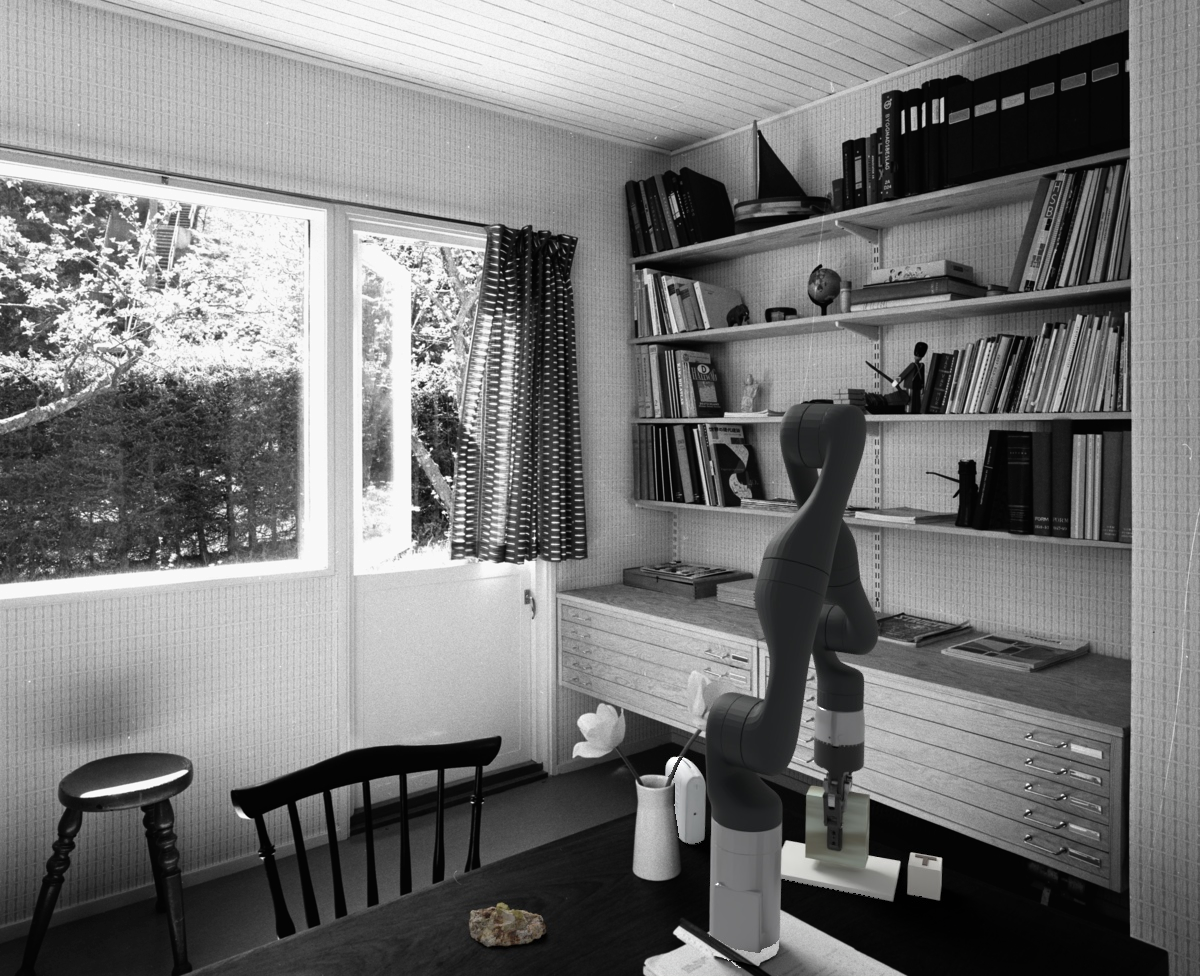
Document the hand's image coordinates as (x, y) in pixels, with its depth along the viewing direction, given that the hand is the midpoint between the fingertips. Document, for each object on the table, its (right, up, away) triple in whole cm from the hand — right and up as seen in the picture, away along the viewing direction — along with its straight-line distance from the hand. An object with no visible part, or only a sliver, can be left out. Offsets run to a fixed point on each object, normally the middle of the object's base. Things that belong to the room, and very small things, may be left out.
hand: (836, 843), depth 141 cm
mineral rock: (-49, -6, -18) cm, 53 cm away
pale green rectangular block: (0, -2, 0) cm, 2 cm away
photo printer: (-22, -4, +14) cm, 27 cm away
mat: (0, -5, 0) cm, 5 cm away
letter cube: (+12, -5, -5) cm, 14 cm away
